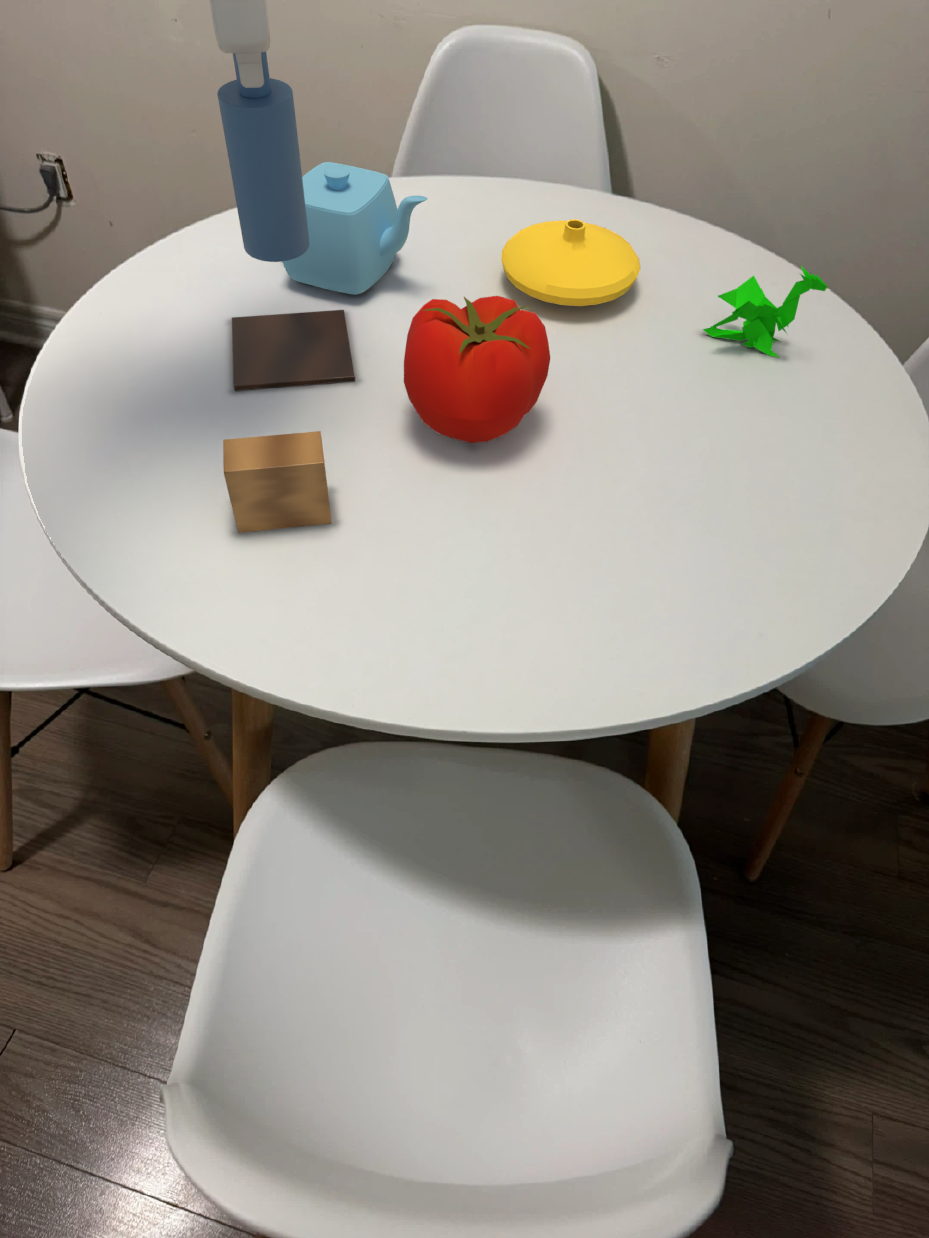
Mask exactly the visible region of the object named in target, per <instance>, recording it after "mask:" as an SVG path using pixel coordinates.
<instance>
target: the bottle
mask: <svg viewBox="0 0 929 1238" xmlns="http://www.w3.org/2000/svg"><path fill="white" fill-rule="evenodd" d="M232 58H233V65H234V71H235V78H236V79H234V80H230V81H227V82H226V83H224V84H223V85H221V86H220V87H219V88H218V90H217V93H216V94H217V100H218V105H219V106H218V107H219V112H220V118H221V122H222V129H223V135H224V141H225V146H226V152H227V157H228V164H229V169H230V170H229V171H230V173H231V175H230V176H231V180H232V186H233V187H232V188H233V193H234V198H235V204H236V209H237V214H238V215H237V216H238V220H239V227H240V232H241V237H242V244H243V249H244V251H245V252H246V255H248V256H250V257H251V258H253V259H255V260H258V261H261V262H268V263H280V262H281V263H283V261H288V260H292V259H295V258H297V257H299V256H301V255H302V254H304V253H305V252H306V251H307V250H308V248H309V245H310V242H309V233H308V224H307V215H306V207H305V198H304V189H303V180H302V177H303V172H302V171H303V170H302V164H301V163H302V162H301V154H300V146H299V136H298V135H299V134H298V128H297V126H298V125H297V118H296V107H295V101H294V92H293V88H292V87H291V86H290V85H289V84H288V83H287V82H285V81H282V80H280V79H276V78H272V77H270V70H269V63H268V55H267V51H266V52H261V59H262V68H263V76H264V85H263V86H262V87H260V88H245V87H244V86H242V84H241V81H240V75H239V69H238V63H237V59H236V56H235V53H232Z"/></svg>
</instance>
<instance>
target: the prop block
mask: <svg viewBox="0 0 929 1238" xmlns="http://www.w3.org/2000/svg"><path fill="white" fill-rule="evenodd" d="M323 446H324V445H323V438H322V432H321V430H317V431H304V432H295V433H283V434H271V435H270V434H269V435H259V436H249V437H248V436H247V437H236V438H235V437H234V438H225V439H222V465H223V466H222V469H223V470H222V471H223V477H224V480H225V484H226V488H227V492H228V497H229V500H230V501H229V502H230V505H231V509H232V513H233V517H234V521H235V526H236V529H237V533H238V534H243V533H251V532H260V531H271V530H281V529H291V528H301V527H309V526H320V525H330V524H332V514H331V506H330V496H329V487H328V480H327V471H326V464H325V463H326V462H325V454H324V448H323Z"/></svg>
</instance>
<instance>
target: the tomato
mask: <svg viewBox="0 0 929 1238" xmlns="http://www.w3.org/2000/svg"><path fill="white" fill-rule="evenodd" d="M463 300H464V301H465V303H466V305H465V306H464V307H460V306H458V305H457V304H455V303H454V302H451V301H450V300H448V299H443V298H441V299H439V298H432V299H430V300H429V301H428V302H425V304H423V305H422V306H421V307H420V309H419V310H418V311H417V312H416V313H415V315H413V317H412V320H411V323H410V325H409V328H408V332H407V334H406V335H407V336H406V342H405V348H404V357H403V385H404V388H405V391H406V395H407V397H408V398H407V399H408V400H409V401H410V403H411V406H412V407H413V408H414V410H415V412H416V413H417V415H418V417H419V418H420V419H421V421H422V422H423V424H425V425H426V426H427V427H429V428H430V429H432V431H434V432H435V433H437V434H440V435H442V436H444V437H447V438H451V439H453V440H457V441H462V442H465V443H469V444H477V443H487V442H489V441H494V440H495V439H498V438H500V437H502V436H505V435H506V434H508V433H509V432H510V431H512V430H513V429H515V428H517V427H518V425H519V424H520V422H521V421H522V420H523V418H524V417H525V416H526V415H528V414H529V413H530V412H531V411H532V410H533V408H534V406H535V405H536V403H537V402H538V400H539V397H540V396H541V393H542V390H543V388H544V385H545V383H546V380H547V378H548V375H549V370H550V364H551V352H550V345H549V338H548V334H547V329H546V326H545V324H544V323H543V322H542V320H541V319H540V317H539V316H538V314H537V313H536V312H533V311H529V310H524V309H527V308H530V307H531V305H527V306H519V305H518V303H517V302H516V300H514V299H511V298H507V297H504V296H500V295H492V296H483V297H479V298H477V299H475V300H473V301H472V302H471V301H470V300H469V299H468V298H467V297H466V296H463Z"/></svg>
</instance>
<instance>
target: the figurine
mask: <svg viewBox="0 0 929 1238" xmlns="http://www.w3.org/2000/svg"><path fill="white" fill-rule="evenodd" d="M800 268H801V272H802V273H799V275H800V277H801V278H802V279H803V280H798V281H795V283H794V284H793V285H792V288H791V289H790V291H789V292H788V294H787V296H786V297H785V299H784V300H783V302H782V305H780V306H776V305H775V304H774V303H772V301H771V300H770V299H769V298H768V297H766V294H765V292H764V290H763V289H762V287H760V285H759V282H758V280H757V279H756V277H755V275H752V276H751V277H750V278H748V279H747V280H745V281H744V282H743V283H742V284H740V285H739V286H738V287H737V288H734V289H731V290H728V291H726V292H724V293H722V294H717V298H720V299H721V300H722V301H724V302H726V303H727V304H729V305H730V306H732V307H733V308H734V311H731V314H730V315H729V316H727V317H725V318H723V319H722V320H720V321H718V322H716V323H714V324H713V325H712V326H709V327H707V328H703V329H702V331H704V333H706V334H707V335H708V336H710V337H712V338H718V339H726V340H732V341H739V342H742V343H741V345H742V346H745V347H747V348H749V349H751V348H754V349H756V350H758V351H759V352H762V353H764V354H766V355H767V356H770V357H775V358H780V355H778V354H777V353H776V352H774V350H772V349H773V344H774V342H780V343H782V341H781V340H779V339H777V338H775V332H776V326H777V331H778V332H780V331H784V332H785V334H788V332H787V331H786V329H785V328H786V327H787V329H788V328H789V325H791V323H792V322H794V320H795V318H796V314H797V311H798V306H799V302H800V297H801V295H804V294H805V293H808V292H809V291H810V290H813V291H819V292H820V291H821V292H825V291H826V290H827V289H828V285H827V284H826V283H825V282H824V281H823V280H822V279H821V277H820V276H819V275H818V274H814V273H812V274H811V273H810V272H809V271H807V269H805V267H803V265H801V264H800ZM739 318H741V319H743V320H744V321H743V322H742V327H741V329H742V330H738V329H725V328H724V329H722V328H719V327H720V326H723V325H726V324H729V323H732V322H735V321H737V320H739ZM745 340H746V341H745ZM743 341H745V342H743Z"/></svg>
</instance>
